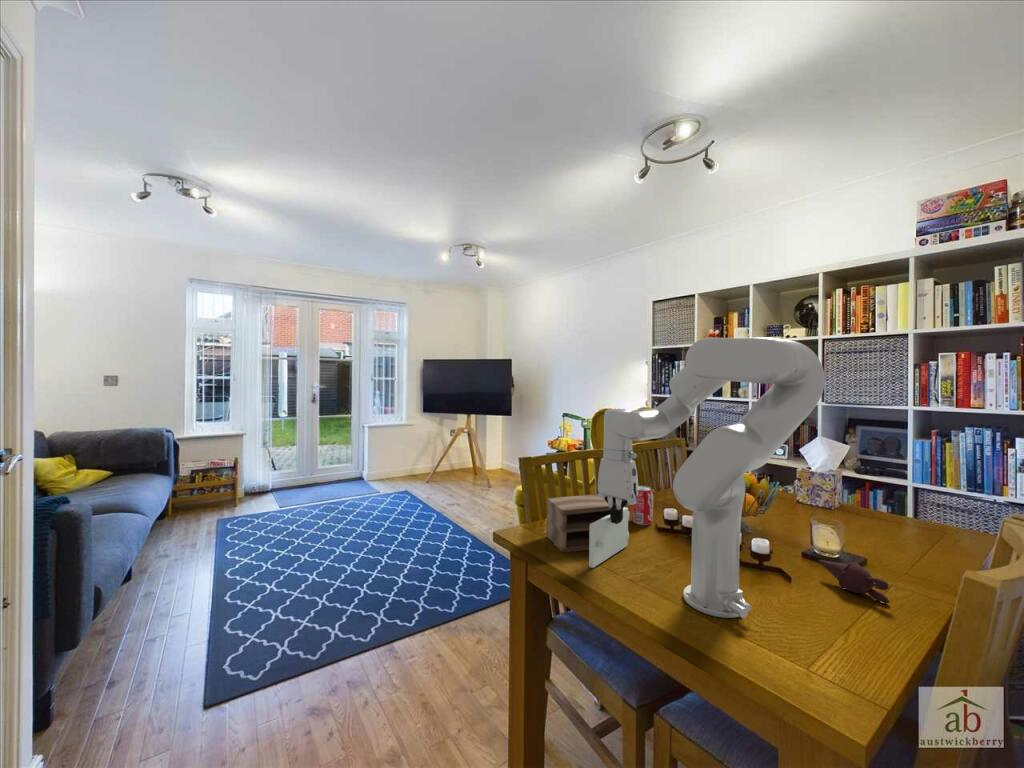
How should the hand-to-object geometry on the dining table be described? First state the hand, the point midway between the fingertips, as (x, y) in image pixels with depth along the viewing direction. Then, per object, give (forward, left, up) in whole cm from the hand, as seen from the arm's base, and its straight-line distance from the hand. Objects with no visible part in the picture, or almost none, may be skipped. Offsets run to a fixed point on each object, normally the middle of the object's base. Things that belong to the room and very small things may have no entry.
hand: (616, 522), depth 114 cm
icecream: (-29, -45, -11) cm, 55 cm away
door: (+2, 0, -10) cm, 10 cm away
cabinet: (+14, +2, -10) cm, 18 cm away
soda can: (+23, -24, -11) cm, 35 cm away
